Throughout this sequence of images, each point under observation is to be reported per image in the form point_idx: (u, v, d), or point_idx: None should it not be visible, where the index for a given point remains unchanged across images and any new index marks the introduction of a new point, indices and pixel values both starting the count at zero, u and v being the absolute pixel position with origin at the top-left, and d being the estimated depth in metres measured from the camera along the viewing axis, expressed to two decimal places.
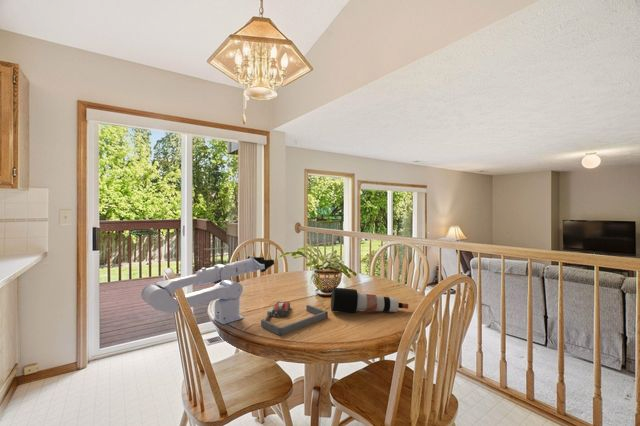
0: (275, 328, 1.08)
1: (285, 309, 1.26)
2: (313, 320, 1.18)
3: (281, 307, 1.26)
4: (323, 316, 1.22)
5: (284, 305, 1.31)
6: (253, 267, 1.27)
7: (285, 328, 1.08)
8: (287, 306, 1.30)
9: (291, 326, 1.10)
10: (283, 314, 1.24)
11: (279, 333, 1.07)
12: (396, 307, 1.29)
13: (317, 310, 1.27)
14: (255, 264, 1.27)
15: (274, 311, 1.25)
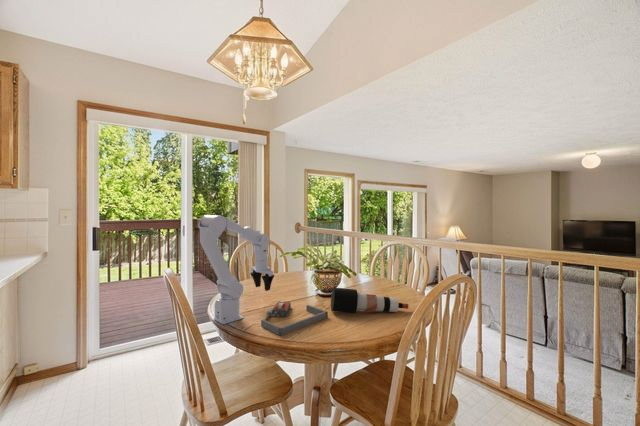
0: (275, 328, 1.08)
1: (285, 309, 1.26)
2: (313, 320, 1.18)
3: (281, 307, 1.26)
4: (323, 316, 1.22)
5: (284, 305, 1.31)
6: (264, 268, 1.33)
7: (285, 328, 1.08)
8: (287, 306, 1.30)
9: (291, 326, 1.10)
10: (283, 314, 1.25)
11: (279, 333, 1.07)
12: (396, 307, 1.29)
13: (317, 310, 1.27)
14: (266, 270, 1.34)
15: (274, 311, 1.25)
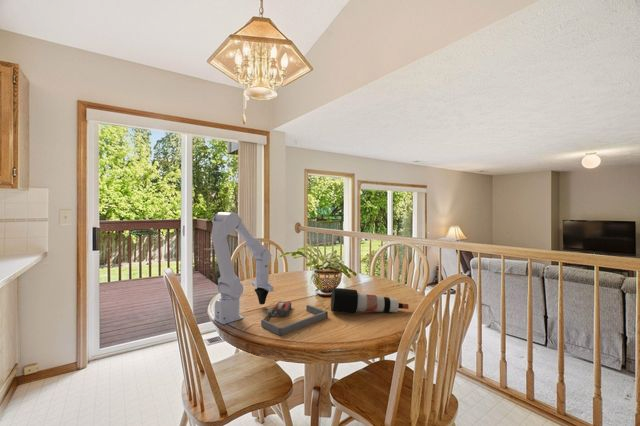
0: (275, 328, 1.08)
1: (285, 309, 1.26)
2: (313, 320, 1.18)
3: (281, 307, 1.26)
4: (323, 316, 1.22)
5: (285, 305, 1.31)
6: (264, 283, 1.33)
7: (285, 328, 1.08)
8: (287, 306, 1.30)
9: (291, 326, 1.10)
10: (282, 314, 1.25)
11: (279, 333, 1.07)
12: (396, 307, 1.29)
13: (317, 310, 1.27)
14: (267, 285, 1.34)
15: (274, 311, 1.26)
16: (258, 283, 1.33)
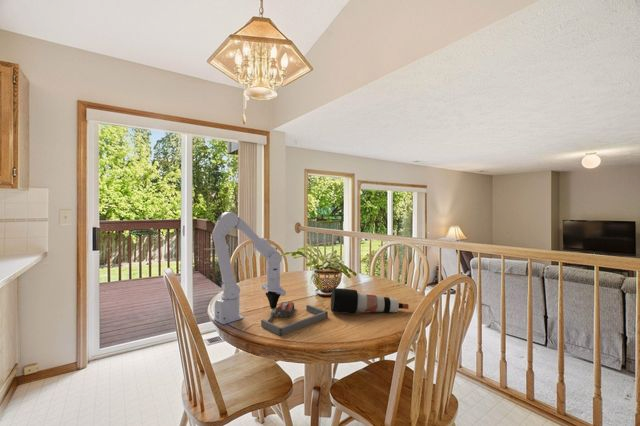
0: (275, 328, 1.08)
1: (288, 310, 1.25)
2: (313, 320, 1.18)
3: (284, 308, 1.25)
4: (323, 316, 1.22)
5: (288, 306, 1.30)
6: (276, 287, 1.27)
7: (285, 328, 1.08)
8: (291, 307, 1.29)
9: (291, 326, 1.10)
10: (286, 315, 1.24)
11: (279, 333, 1.07)
12: (396, 307, 1.29)
13: (317, 310, 1.27)
14: (278, 289, 1.28)
15: (277, 311, 1.25)
16: (269, 287, 1.27)
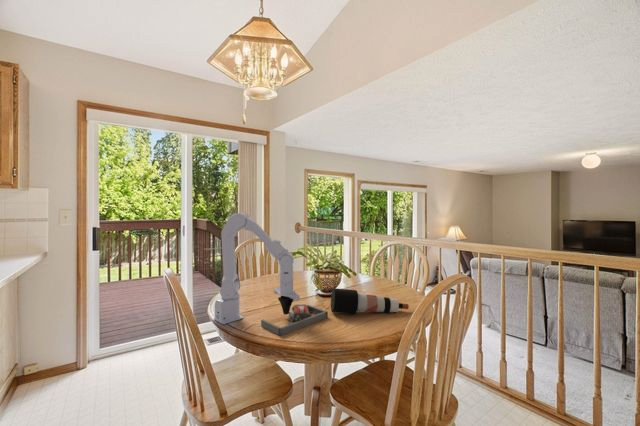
0: (275, 328, 1.08)
1: (307, 312, 1.22)
2: (313, 320, 1.18)
3: (303, 310, 1.21)
4: (323, 316, 1.22)
5: (304, 308, 1.26)
6: (289, 292, 1.21)
7: (285, 328, 1.08)
8: (307, 309, 1.26)
9: (291, 326, 1.10)
10: None
11: (279, 333, 1.07)
12: (396, 307, 1.29)
13: (317, 310, 1.27)
14: (292, 293, 1.22)
15: (296, 315, 1.20)
16: (282, 291, 1.21)
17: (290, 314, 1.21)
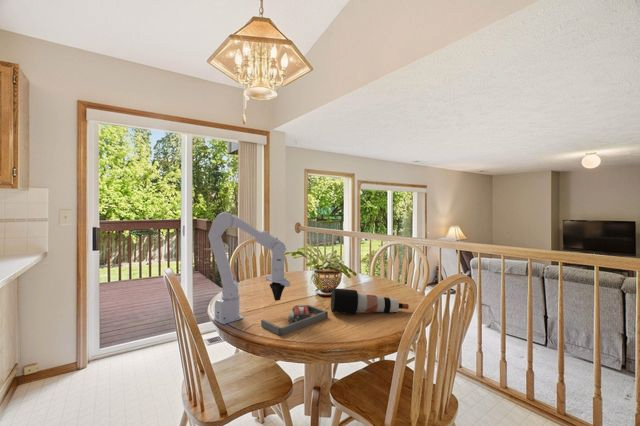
0: (275, 328, 1.08)
1: (307, 313, 1.22)
2: (313, 320, 1.18)
3: (303, 311, 1.21)
4: (323, 316, 1.22)
5: (304, 309, 1.26)
6: (280, 278, 1.25)
7: (285, 328, 1.08)
8: (307, 310, 1.26)
9: (291, 326, 1.10)
10: None
11: (279, 333, 1.07)
12: (396, 307, 1.28)
13: (317, 310, 1.27)
14: (283, 280, 1.26)
15: (296, 316, 1.20)
16: (274, 278, 1.25)
17: (290, 315, 1.22)
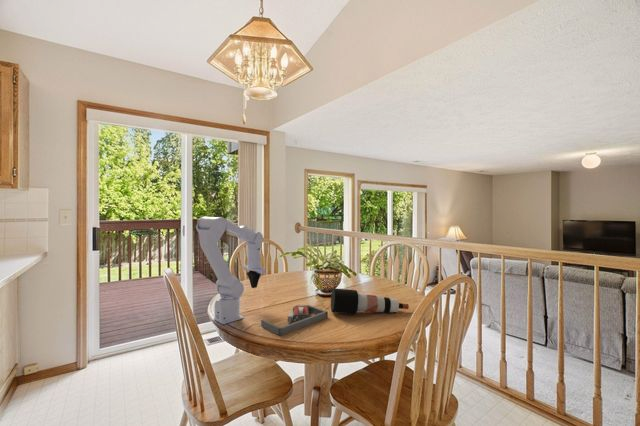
0: (275, 328, 1.08)
1: (306, 313, 1.22)
2: (313, 320, 1.18)
3: (302, 311, 1.21)
4: (323, 316, 1.22)
5: (304, 309, 1.26)
6: (256, 266, 1.32)
7: (285, 328, 1.08)
8: (307, 310, 1.26)
9: (291, 326, 1.10)
10: None
11: (279, 333, 1.07)
12: (397, 307, 1.28)
13: (317, 310, 1.27)
14: (259, 268, 1.33)
15: (295, 316, 1.20)
16: (250, 266, 1.32)
17: (289, 315, 1.22)
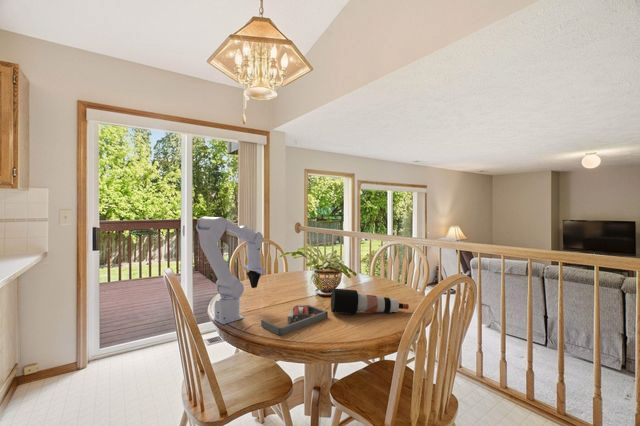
0: (275, 328, 1.08)
1: (306, 313, 1.21)
2: (313, 320, 1.18)
3: (302, 311, 1.21)
4: (323, 316, 1.22)
5: (304, 309, 1.26)
6: (256, 266, 1.32)
7: (285, 328, 1.08)
8: (307, 310, 1.26)
9: (291, 326, 1.10)
10: None
11: (279, 333, 1.07)
12: (397, 308, 1.28)
13: (317, 310, 1.27)
14: (259, 268, 1.33)
15: (295, 316, 1.20)
16: (250, 266, 1.32)
17: (289, 315, 1.22)
